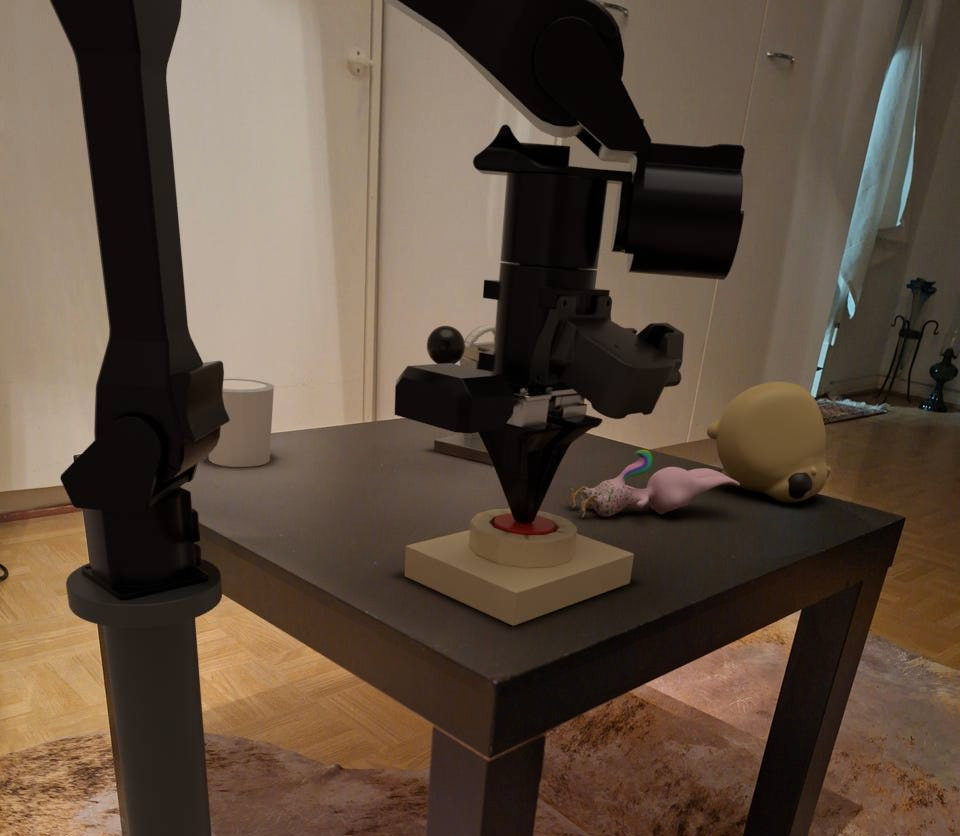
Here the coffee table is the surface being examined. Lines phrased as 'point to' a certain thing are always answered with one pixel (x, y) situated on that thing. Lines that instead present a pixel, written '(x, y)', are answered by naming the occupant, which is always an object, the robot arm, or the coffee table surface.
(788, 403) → the tan animal figure
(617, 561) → the control block
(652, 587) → the coffee table surface
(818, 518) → the coffee table surface
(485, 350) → the switch bracket
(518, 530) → the button
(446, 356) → the lever
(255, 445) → the white cup
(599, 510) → the pink toy creature
